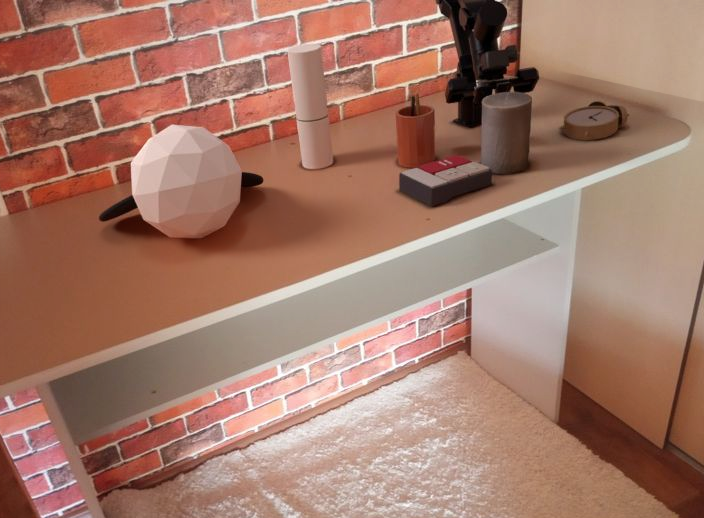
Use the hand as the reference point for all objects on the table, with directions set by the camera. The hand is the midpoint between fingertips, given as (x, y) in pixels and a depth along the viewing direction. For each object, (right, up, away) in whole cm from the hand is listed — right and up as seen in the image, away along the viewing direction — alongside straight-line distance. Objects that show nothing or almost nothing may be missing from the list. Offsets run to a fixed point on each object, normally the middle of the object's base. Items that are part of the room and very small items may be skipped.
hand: (497, 122), depth 148 cm
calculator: (-12, -15, -6) cm, 20 cm away
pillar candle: (+1, -9, 0) cm, 9 cm away
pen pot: (-16, -6, +8) cm, 19 cm away
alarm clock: (+24, +1, +9) cm, 26 cm away
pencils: (-16, -5, +7) cm, 18 cm away
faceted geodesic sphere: (-63, -23, -5) cm, 67 cm away
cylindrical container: (-37, -5, +14) cm, 40 cm away
